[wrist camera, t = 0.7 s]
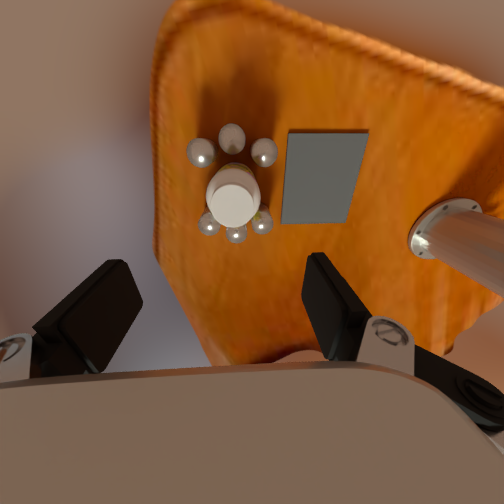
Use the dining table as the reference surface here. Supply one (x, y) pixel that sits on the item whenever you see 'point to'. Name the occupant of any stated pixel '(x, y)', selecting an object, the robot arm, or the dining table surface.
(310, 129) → the dining table surface
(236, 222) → the supplement bottle
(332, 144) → the rubber mat
